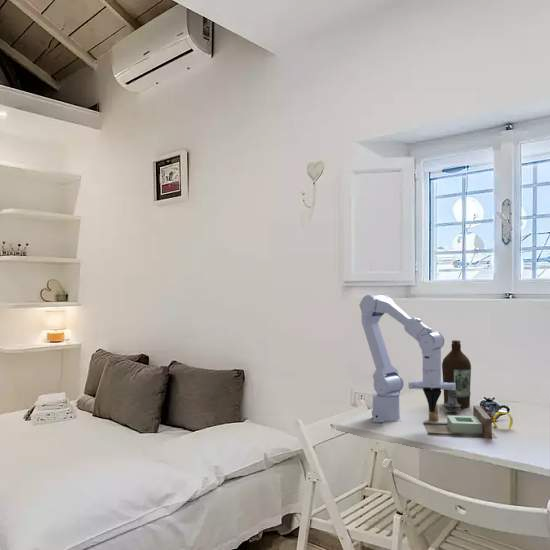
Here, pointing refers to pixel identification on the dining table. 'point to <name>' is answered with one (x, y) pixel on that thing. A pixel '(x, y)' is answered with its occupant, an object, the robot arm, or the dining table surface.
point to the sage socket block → (464, 424)
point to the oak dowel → (434, 414)
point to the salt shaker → (452, 402)
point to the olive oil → (457, 374)
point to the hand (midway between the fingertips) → (431, 411)
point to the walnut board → (446, 432)
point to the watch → (502, 413)
